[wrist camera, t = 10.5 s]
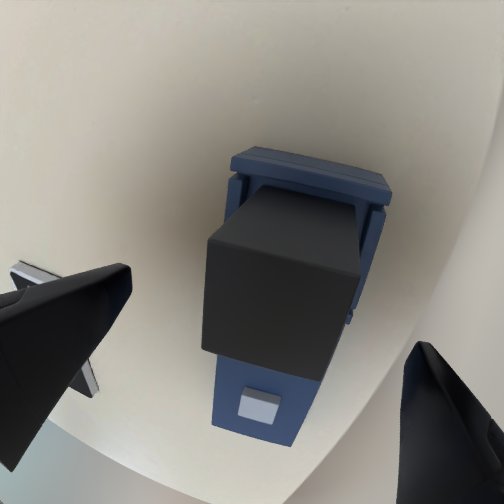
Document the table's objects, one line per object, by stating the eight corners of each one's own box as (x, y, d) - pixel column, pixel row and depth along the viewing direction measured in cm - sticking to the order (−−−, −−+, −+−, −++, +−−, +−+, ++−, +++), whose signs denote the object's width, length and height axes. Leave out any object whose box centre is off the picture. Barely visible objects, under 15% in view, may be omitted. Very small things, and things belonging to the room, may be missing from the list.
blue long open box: (382, 174, 14) (393, 192, 11) (296, 423, 24) (288, 457, 21) (254, 145, 15) (231, 156, 12) (221, 402, 25) (206, 434, 22)
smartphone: (47, 373, 31) (7, 265, 24) (53, 367, 32) (16, 259, 25) (94, 400, 29) (56, 287, 23) (100, 392, 31) (66, 279, 24)
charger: (355, 205, 13) (362, 276, 8) (333, 286, 15) (320, 383, 9) (260, 183, 14) (204, 237, 8) (248, 265, 15) (198, 349, 10)
